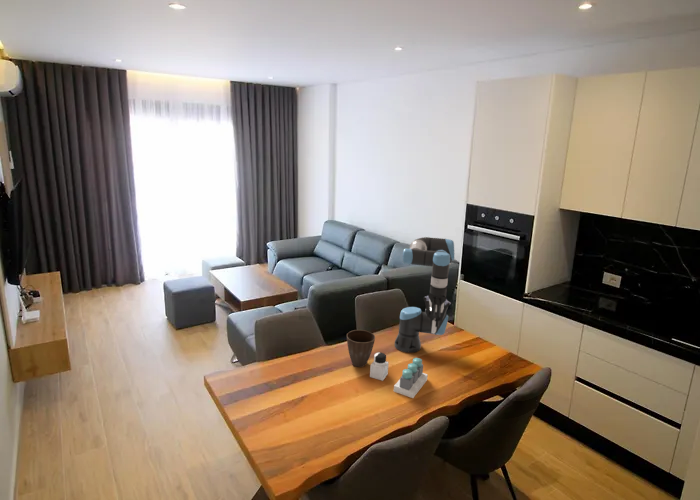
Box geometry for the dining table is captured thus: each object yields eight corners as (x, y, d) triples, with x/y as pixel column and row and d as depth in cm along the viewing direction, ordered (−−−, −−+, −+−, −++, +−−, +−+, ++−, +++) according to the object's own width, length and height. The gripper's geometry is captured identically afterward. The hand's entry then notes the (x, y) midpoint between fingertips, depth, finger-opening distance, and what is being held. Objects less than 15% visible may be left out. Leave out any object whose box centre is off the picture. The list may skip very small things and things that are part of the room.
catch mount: (393, 391, 206) (394, 376, 203) (408, 373, 222) (410, 359, 220) (413, 398, 201) (414, 383, 199) (427, 379, 217) (428, 365, 215)
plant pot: (352, 354, 239) (354, 327, 235) (377, 361, 233) (379, 333, 228) (340, 366, 226) (341, 338, 222) (366, 373, 220) (368, 345, 215)
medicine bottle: (387, 374, 220) (389, 353, 217) (382, 381, 214) (384, 359, 211) (374, 370, 223) (376, 349, 220) (369, 377, 217) (371, 355, 214)
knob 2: (405, 380, 210) (406, 366, 208) (408, 376, 213) (410, 362, 211) (414, 383, 207) (415, 369, 205) (417, 379, 211) (418, 365, 209)
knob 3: (410, 374, 215) (411, 360, 213) (413, 370, 219) (414, 356, 217) (418, 377, 213) (420, 363, 211) (422, 373, 217) (423, 359, 215)
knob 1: (399, 386, 204) (401, 372, 202) (403, 382, 208) (404, 368, 206) (408, 389, 202) (410, 375, 200) (412, 385, 206) (413, 370, 204)
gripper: (422, 284, 199) (417, 331, 205) (450, 290, 193) (444, 339, 199) (428, 280, 205) (423, 326, 211) (454, 286, 199) (449, 333, 205)
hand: (433, 332), depth 205 cm, fingers closed
